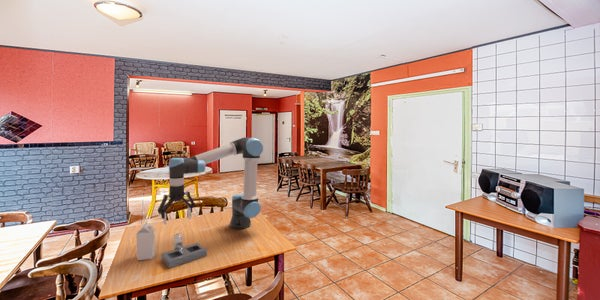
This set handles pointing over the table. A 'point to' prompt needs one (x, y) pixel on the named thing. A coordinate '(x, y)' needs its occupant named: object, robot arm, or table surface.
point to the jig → (183, 255)
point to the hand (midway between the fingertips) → (177, 221)
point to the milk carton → (145, 242)
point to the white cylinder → (178, 241)
